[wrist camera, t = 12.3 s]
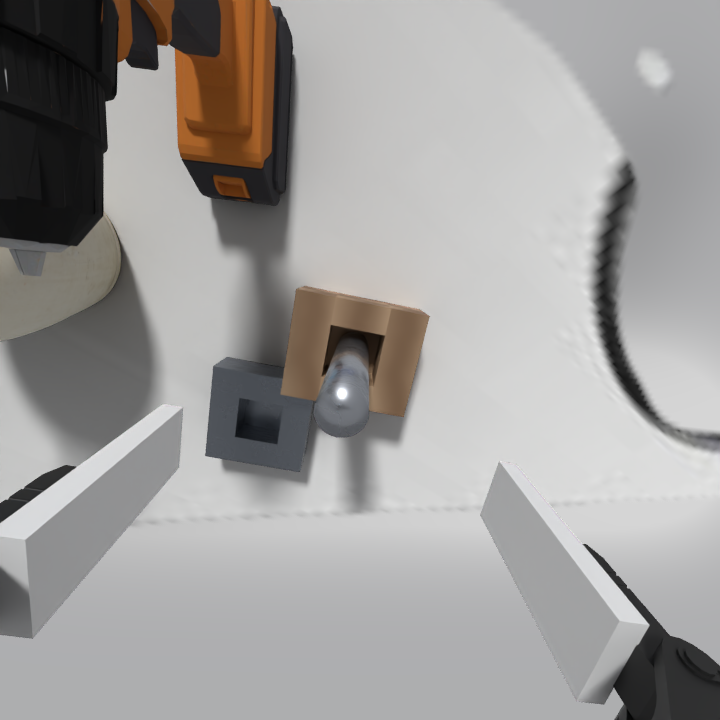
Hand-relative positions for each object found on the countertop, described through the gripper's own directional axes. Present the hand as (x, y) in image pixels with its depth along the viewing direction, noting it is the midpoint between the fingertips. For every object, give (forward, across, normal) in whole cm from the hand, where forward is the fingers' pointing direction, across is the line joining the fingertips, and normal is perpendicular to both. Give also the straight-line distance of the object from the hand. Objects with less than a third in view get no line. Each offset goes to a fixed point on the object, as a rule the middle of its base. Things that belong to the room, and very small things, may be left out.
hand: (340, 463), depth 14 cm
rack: (+23, +1, 0) cm, 23 cm away
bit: (+22, +1, 0) cm, 22 cm away
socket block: (+23, -7, -9) cm, 26 cm away
